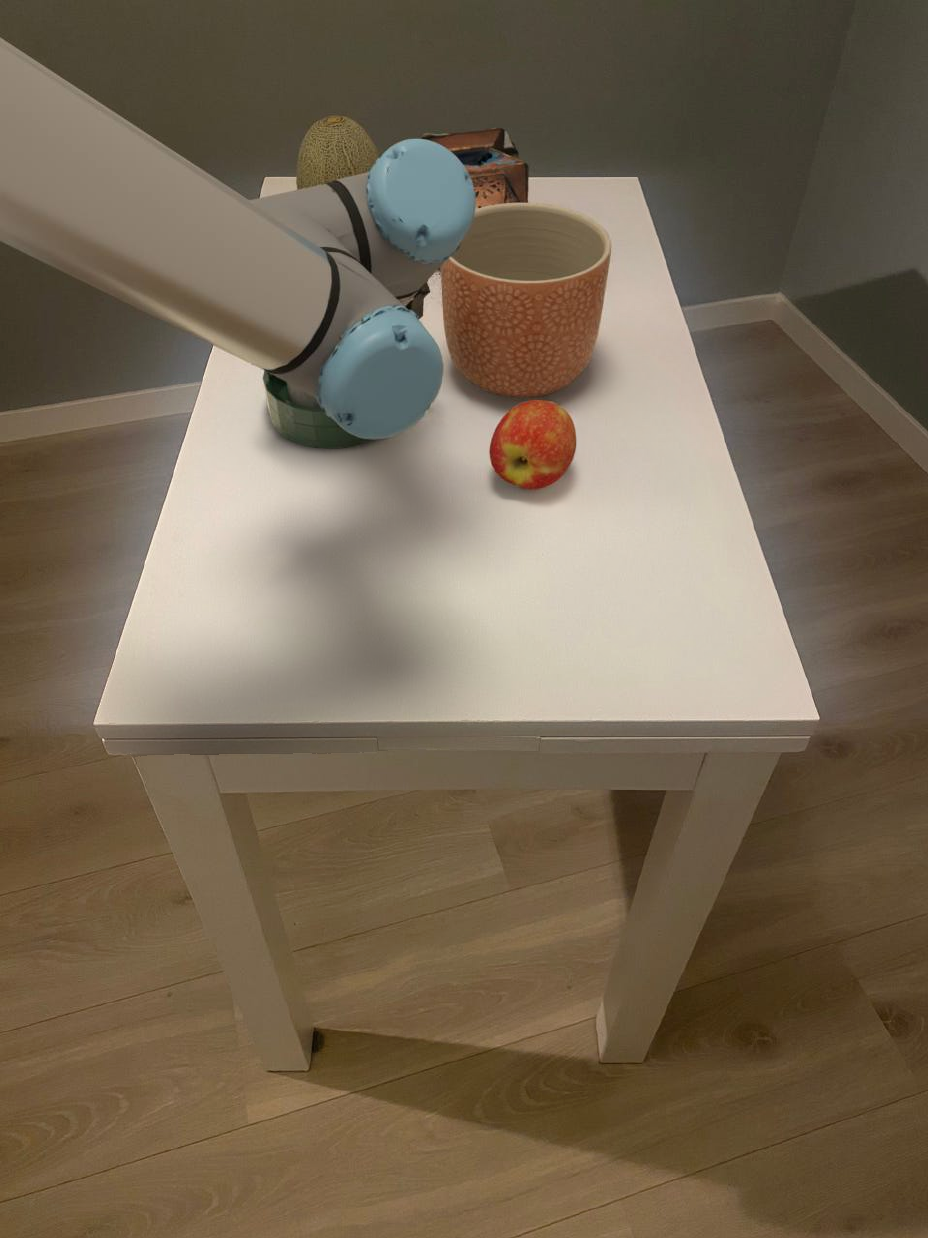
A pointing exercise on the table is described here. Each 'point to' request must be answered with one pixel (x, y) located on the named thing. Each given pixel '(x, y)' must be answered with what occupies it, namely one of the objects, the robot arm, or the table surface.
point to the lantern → (489, 165)
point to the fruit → (334, 152)
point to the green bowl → (304, 420)
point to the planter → (525, 297)
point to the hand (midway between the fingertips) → (319, 350)
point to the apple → (533, 444)
